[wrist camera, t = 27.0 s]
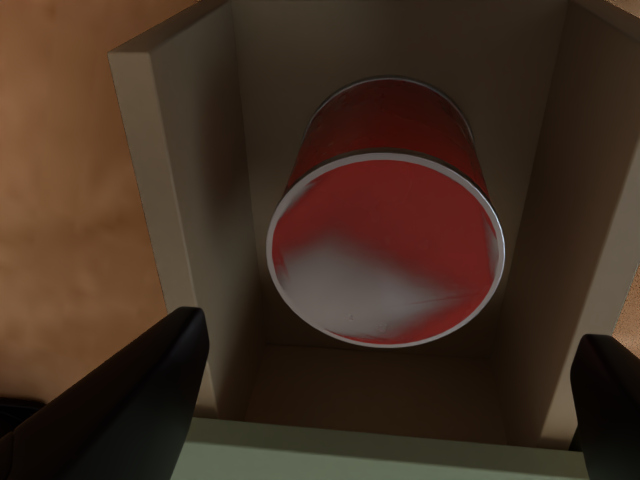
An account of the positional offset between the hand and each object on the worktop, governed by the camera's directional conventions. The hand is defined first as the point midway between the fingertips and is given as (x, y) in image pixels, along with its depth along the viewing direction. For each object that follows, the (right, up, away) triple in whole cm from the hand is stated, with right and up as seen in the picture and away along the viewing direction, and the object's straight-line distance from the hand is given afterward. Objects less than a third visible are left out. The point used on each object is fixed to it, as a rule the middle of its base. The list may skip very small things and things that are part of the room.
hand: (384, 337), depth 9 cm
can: (+1, +4, +6) cm, 8 cm away
